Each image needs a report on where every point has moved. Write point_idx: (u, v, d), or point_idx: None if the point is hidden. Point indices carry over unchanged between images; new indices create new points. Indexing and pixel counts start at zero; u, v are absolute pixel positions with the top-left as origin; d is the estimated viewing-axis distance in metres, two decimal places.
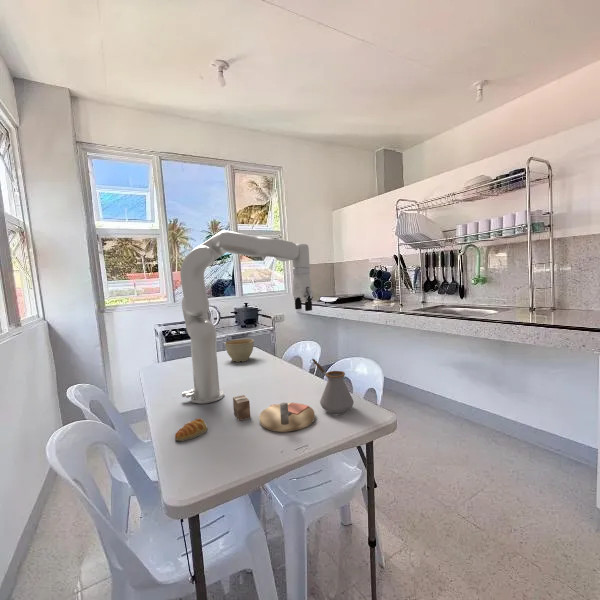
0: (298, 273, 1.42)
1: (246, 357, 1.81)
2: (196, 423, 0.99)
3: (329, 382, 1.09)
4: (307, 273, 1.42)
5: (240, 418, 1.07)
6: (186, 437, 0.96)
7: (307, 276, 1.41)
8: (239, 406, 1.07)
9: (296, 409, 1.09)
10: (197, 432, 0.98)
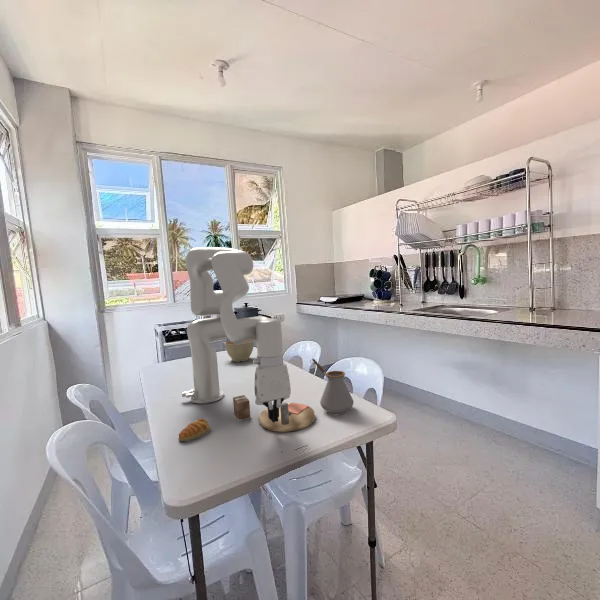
0: (281, 363, 0.95)
1: (246, 357, 1.81)
2: (199, 423, 0.99)
3: (329, 382, 1.09)
4: None
5: (240, 418, 1.07)
6: (190, 437, 0.95)
7: None
8: (239, 406, 1.07)
9: (296, 409, 1.09)
10: (201, 432, 0.97)
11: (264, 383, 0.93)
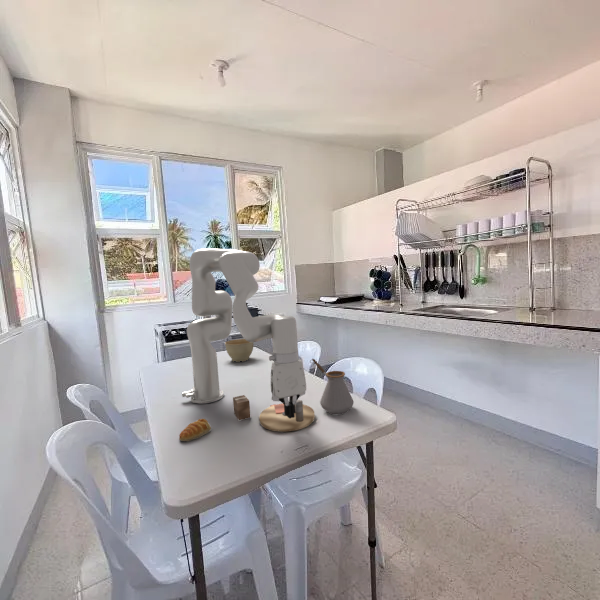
0: (297, 359, 0.96)
1: (246, 357, 1.81)
2: (200, 423, 0.99)
3: (329, 382, 1.09)
4: None
5: (240, 418, 1.07)
6: (191, 437, 0.95)
7: None
8: (239, 406, 1.07)
9: None
10: (201, 432, 0.97)
11: (280, 379, 0.94)
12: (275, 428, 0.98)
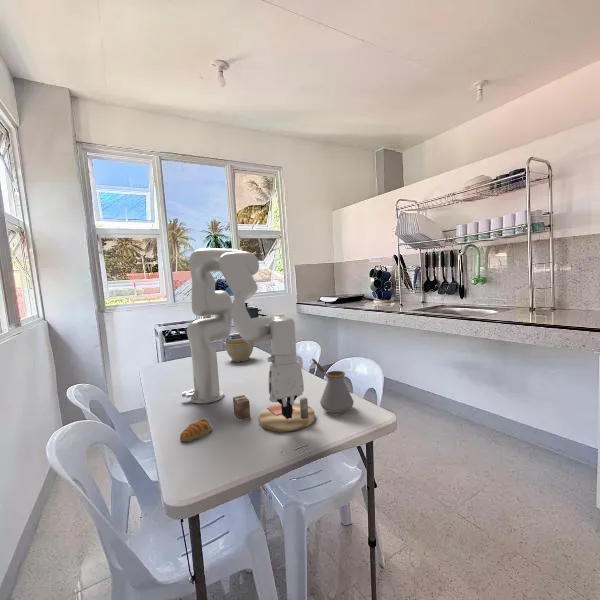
0: (295, 361, 0.97)
1: (246, 357, 1.81)
2: (201, 423, 0.99)
3: (329, 382, 1.09)
4: None
5: (240, 418, 1.07)
6: (192, 437, 0.95)
7: None
8: (239, 406, 1.07)
9: None
10: (202, 432, 0.97)
11: (279, 380, 0.95)
12: (286, 428, 0.97)
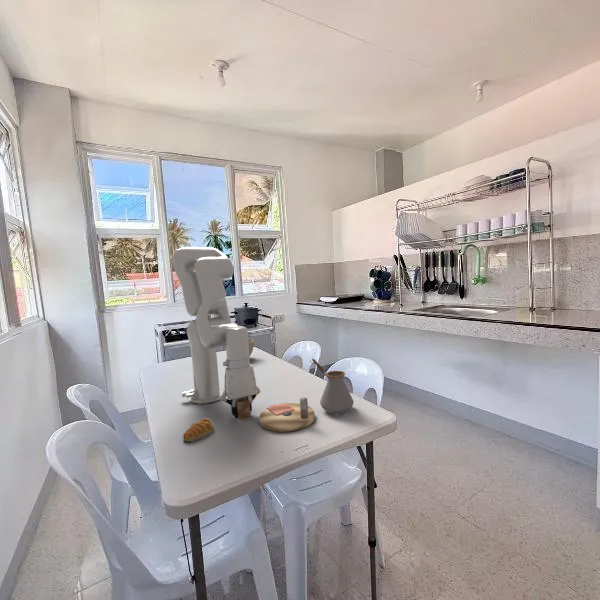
0: (248, 365, 1.08)
1: None
2: (203, 423, 0.99)
3: (329, 382, 1.09)
4: None
5: (240, 418, 1.07)
6: (195, 437, 0.95)
7: None
8: (239, 406, 1.07)
9: (284, 408, 1.10)
10: (205, 432, 0.97)
11: (232, 383, 1.06)
12: (286, 428, 0.97)
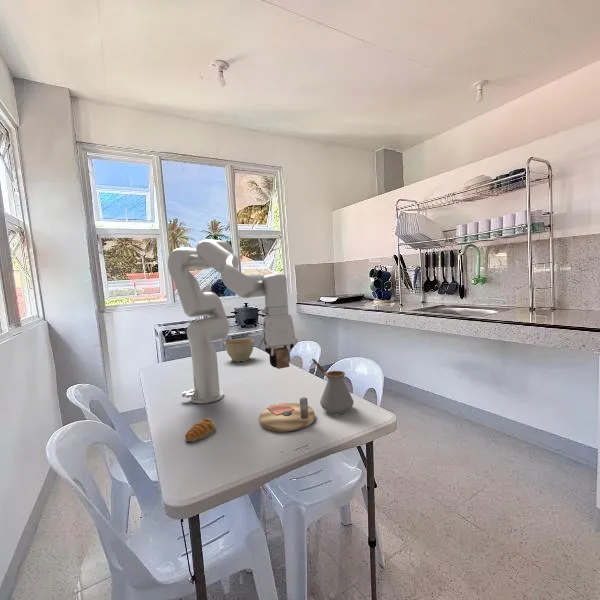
0: (287, 313, 1.06)
1: (246, 357, 1.81)
2: (205, 423, 0.99)
3: (329, 382, 1.09)
4: None
5: (279, 366, 1.06)
6: (197, 437, 0.95)
7: None
8: (279, 354, 1.05)
9: (284, 408, 1.10)
10: (207, 432, 0.97)
11: (272, 330, 1.04)
12: (286, 428, 0.97)
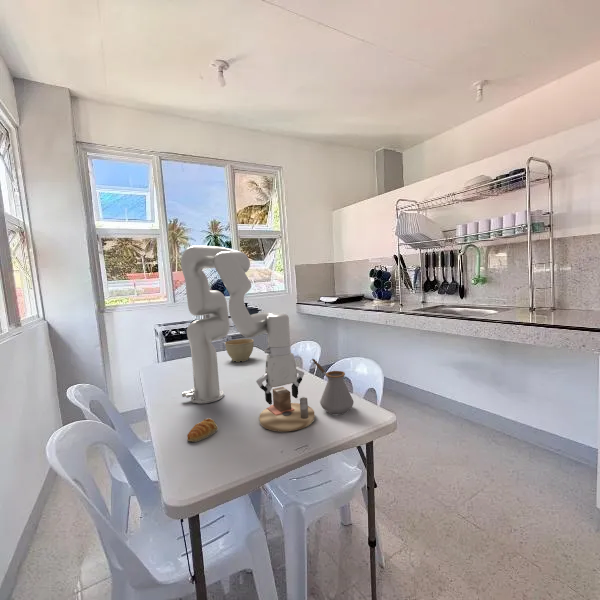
0: (289, 352, 1.07)
1: (246, 357, 1.81)
2: (207, 423, 0.99)
3: (329, 382, 1.09)
4: None
5: (281, 409, 1.07)
6: (200, 437, 0.95)
7: None
8: (280, 397, 1.07)
9: None
10: (209, 432, 0.97)
11: (274, 370, 1.05)
12: (286, 428, 0.97)
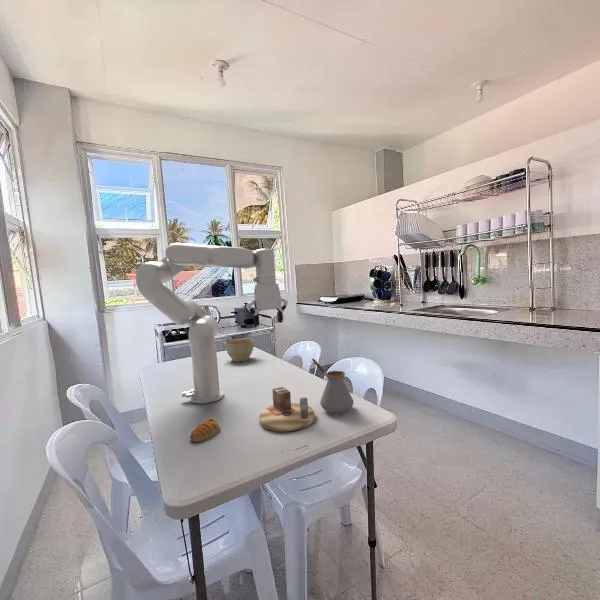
0: (274, 281, 1.26)
1: (246, 357, 1.81)
2: (209, 423, 0.99)
3: (329, 382, 1.09)
4: None
5: (281, 409, 1.07)
6: (203, 437, 0.95)
7: None
8: (280, 397, 1.07)
9: None
10: (212, 432, 0.97)
11: (261, 295, 1.24)
12: (286, 428, 0.97)
